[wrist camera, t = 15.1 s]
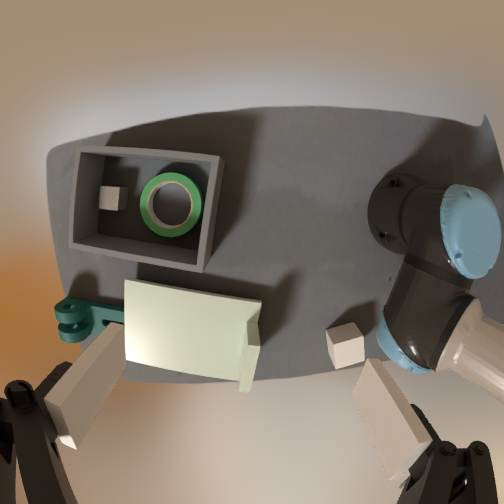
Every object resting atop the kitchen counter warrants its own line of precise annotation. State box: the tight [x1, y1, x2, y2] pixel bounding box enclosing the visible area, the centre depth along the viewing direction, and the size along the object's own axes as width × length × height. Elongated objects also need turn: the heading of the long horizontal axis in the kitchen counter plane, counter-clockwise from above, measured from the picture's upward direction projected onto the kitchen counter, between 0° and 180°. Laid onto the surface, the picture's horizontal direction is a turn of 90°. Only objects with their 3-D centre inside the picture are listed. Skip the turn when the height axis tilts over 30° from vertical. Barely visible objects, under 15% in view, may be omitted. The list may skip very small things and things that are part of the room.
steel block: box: [99, 186, 129, 211], centre depth 45 cm, size 4×4×4 cm
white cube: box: [326, 322, 365, 369], centre depth 51 cm, size 6×6×6 cm
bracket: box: [54, 297, 125, 343], centre depth 49 cm, size 18×7×8 cm, turn 85°
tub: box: [68, 146, 225, 273], centre depth 43 cm, size 24×17×9 cm
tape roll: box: [140, 172, 204, 237], centre depth 47 cm, size 11×11×3 cm
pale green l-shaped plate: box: [124, 277, 262, 392], centre depth 48 cm, size 25×18×11 cm
